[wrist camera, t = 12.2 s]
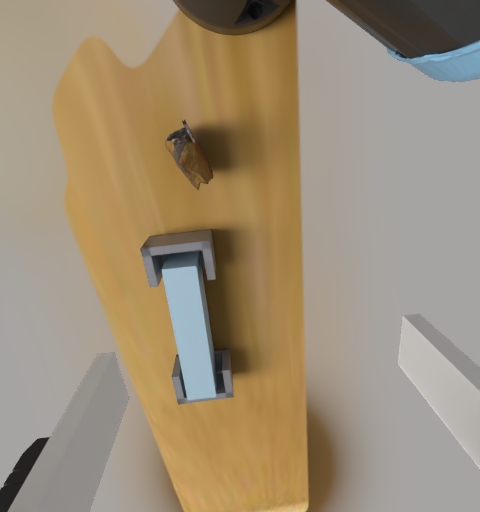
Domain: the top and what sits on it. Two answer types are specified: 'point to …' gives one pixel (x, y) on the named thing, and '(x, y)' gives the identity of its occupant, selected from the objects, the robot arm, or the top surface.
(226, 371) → the end caps
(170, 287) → the slat
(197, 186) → the rock
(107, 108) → the top surface
